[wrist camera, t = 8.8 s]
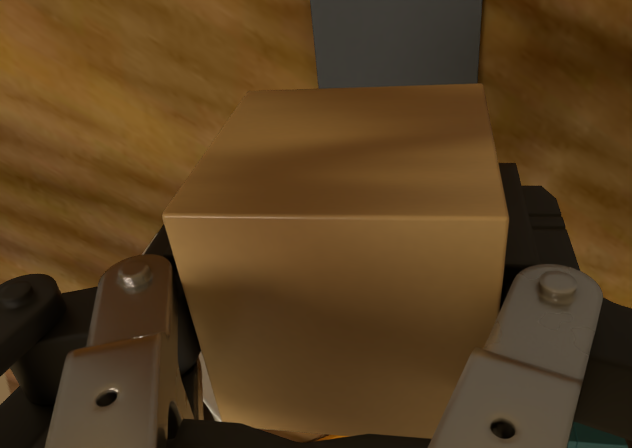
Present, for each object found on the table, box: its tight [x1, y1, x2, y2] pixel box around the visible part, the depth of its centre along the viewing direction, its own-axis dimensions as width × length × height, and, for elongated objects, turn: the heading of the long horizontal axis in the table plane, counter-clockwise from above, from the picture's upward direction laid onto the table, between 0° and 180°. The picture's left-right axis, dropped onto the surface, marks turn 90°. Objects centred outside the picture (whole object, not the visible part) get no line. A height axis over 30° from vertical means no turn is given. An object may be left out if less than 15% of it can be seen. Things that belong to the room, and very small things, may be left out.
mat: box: [310, 0, 482, 89], centre depth 24 cm, size 7×7×1 cm
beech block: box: [162, 83, 509, 439], centre depth 12 cm, size 5×5×5 cm
